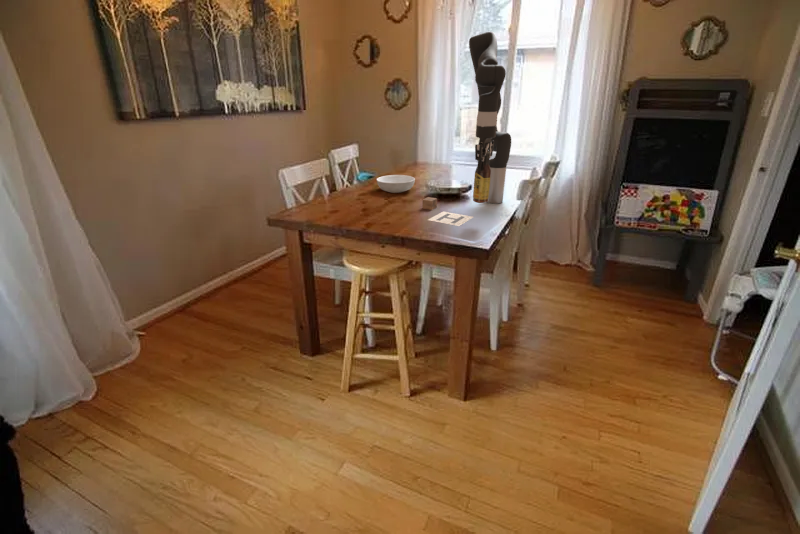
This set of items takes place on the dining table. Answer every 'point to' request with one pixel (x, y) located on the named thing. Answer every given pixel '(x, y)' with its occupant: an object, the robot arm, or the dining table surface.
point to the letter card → (450, 218)
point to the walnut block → (429, 203)
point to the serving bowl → (395, 183)
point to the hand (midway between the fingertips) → (483, 169)
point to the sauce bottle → (482, 182)
